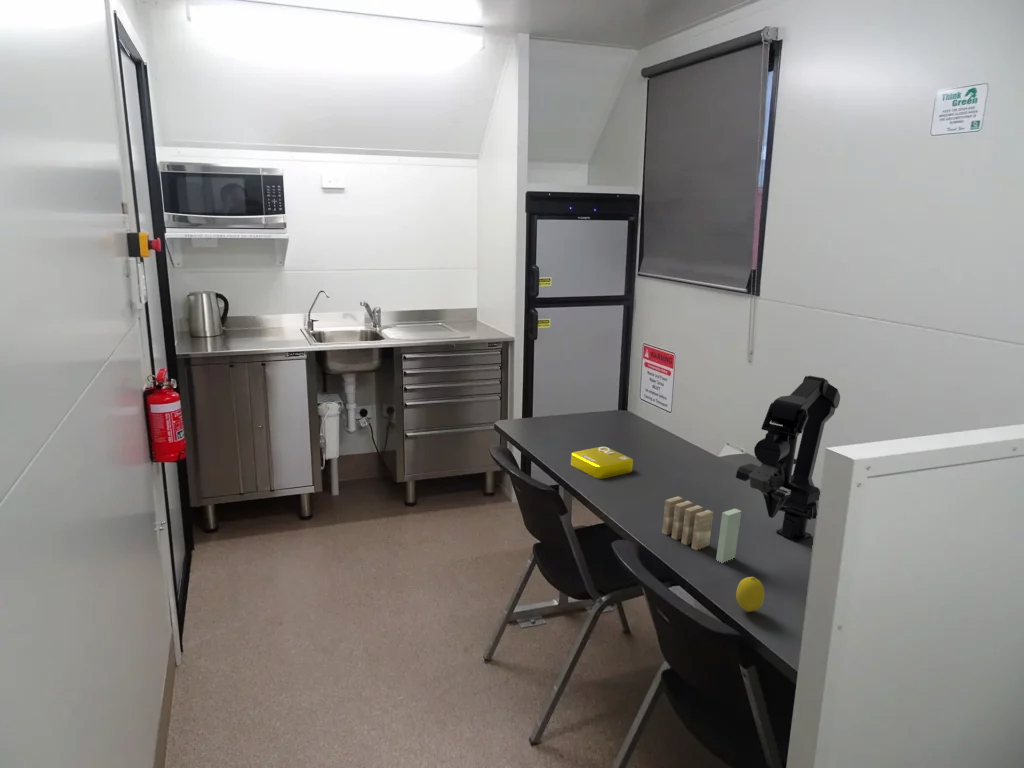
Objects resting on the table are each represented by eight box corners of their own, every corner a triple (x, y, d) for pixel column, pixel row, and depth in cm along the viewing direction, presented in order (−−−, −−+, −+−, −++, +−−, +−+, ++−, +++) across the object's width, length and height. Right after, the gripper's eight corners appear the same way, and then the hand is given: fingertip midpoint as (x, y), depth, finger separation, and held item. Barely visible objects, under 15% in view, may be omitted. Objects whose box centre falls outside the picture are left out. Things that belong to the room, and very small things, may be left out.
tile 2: (681, 542, 176) (685, 509, 174) (693, 538, 179) (697, 505, 177) (686, 545, 175) (690, 511, 173) (698, 540, 178) (703, 507, 176)
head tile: (715, 560, 168) (722, 512, 165) (728, 555, 171) (735, 508, 168) (722, 563, 167) (728, 515, 164) (734, 558, 170) (741, 511, 167)
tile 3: (671, 537, 179) (675, 504, 177) (683, 533, 182) (687, 500, 179) (676, 539, 178) (680, 506, 175) (688, 535, 180) (692, 502, 178)
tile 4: (661, 532, 181) (665, 500, 179) (674, 528, 184) (678, 496, 182) (666, 534, 180) (670, 502, 178) (679, 530, 183) (682, 498, 181)
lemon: (755, 604, 150) (761, 570, 148) (765, 619, 144) (771, 584, 142) (730, 604, 150) (735, 569, 148) (739, 618, 144) (744, 583, 142)
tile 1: (691, 547, 174) (695, 514, 172) (703, 543, 177) (708, 509, 175) (696, 550, 173) (700, 516, 170) (709, 545, 176) (713, 512, 173)
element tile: (568, 465, 227) (569, 450, 226) (603, 457, 235) (604, 444, 234) (598, 480, 215) (599, 466, 214) (634, 472, 223) (636, 458, 222)
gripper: (725, 447, 164) (717, 509, 168) (798, 473, 150) (787, 540, 153) (754, 440, 171) (745, 500, 174) (826, 464, 156) (815, 529, 160)
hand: (771, 517), depth 165 cm, fingers closed
